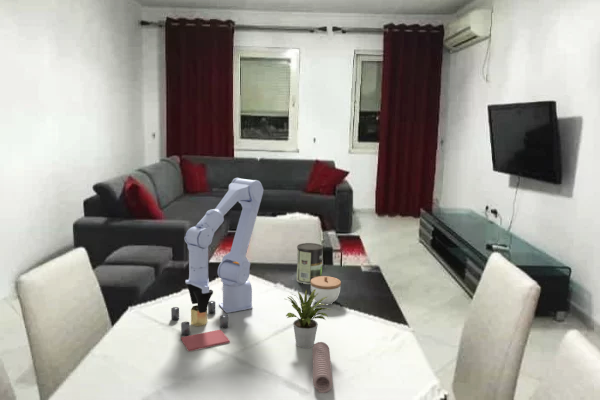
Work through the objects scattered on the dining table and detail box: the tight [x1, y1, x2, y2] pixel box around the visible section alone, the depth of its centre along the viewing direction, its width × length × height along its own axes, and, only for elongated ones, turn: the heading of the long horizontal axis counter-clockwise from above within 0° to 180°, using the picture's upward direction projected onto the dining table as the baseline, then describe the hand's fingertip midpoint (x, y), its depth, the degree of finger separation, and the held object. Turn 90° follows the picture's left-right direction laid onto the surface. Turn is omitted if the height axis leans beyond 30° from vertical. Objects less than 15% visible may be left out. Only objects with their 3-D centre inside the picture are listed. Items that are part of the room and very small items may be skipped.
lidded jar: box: [310, 275, 342, 305], centre depth 168 cm, size 11×11×9 cm
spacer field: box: [170, 300, 229, 337], centre depth 149 cm, size 14×14×4 cm
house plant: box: [285, 288, 332, 349], centre depth 135 cm, size 14×14×16 cm
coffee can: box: [296, 242, 324, 285], centre depth 190 cm, size 10×10×14 cm
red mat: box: [180, 328, 231, 352], centre depth 138 cm, size 12×8×1 cm, turn 119°
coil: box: [311, 341, 334, 394], centre depth 122 cm, size 5×5×18 cm
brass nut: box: [190, 304, 208, 327], centre depth 149 cm, size 5×4×5 cm
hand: (198, 307), depth 149 cm, fingers open, 7 cm apart
